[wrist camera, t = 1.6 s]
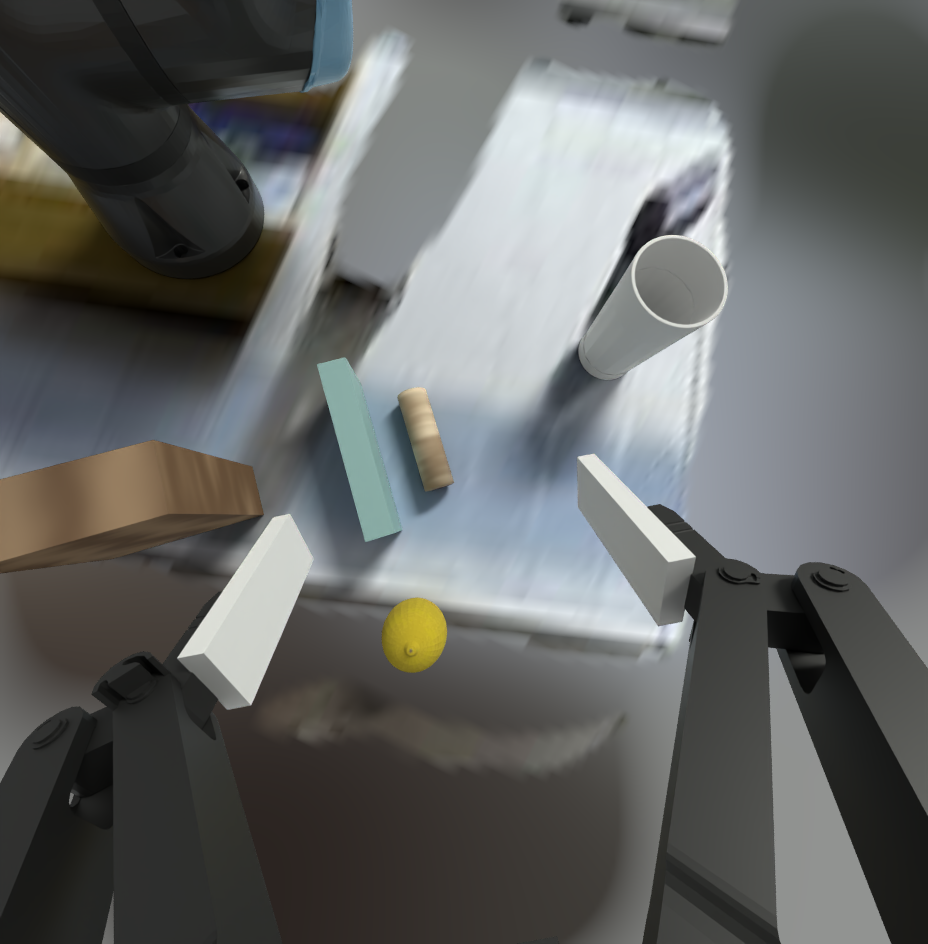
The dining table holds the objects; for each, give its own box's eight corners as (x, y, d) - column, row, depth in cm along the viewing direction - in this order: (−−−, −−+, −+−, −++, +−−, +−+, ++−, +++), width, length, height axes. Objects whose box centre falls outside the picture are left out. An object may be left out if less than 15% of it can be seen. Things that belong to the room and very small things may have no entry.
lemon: (395, 585, 34) (382, 606, 26) (450, 595, 34) (454, 618, 26) (383, 643, 33) (366, 684, 25) (439, 653, 33) (440, 696, 25)
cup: (623, 399, 38) (707, 345, 26) (560, 366, 38) (615, 297, 26) (649, 340, 39) (741, 264, 27) (588, 308, 39) (653, 218, 27)
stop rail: (378, 537, 34) (365, 542, 28) (337, 389, 36) (317, 364, 30) (402, 530, 34) (394, 532, 28) (360, 383, 36) (345, 357, 30)
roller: (439, 488, 36) (459, 481, 34) (419, 493, 34) (439, 485, 32) (413, 401, 37) (431, 388, 35) (391, 399, 35) (410, 386, 33)
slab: (112, 558, 32) (-80, 583, 20) (103, 507, 32) (-90, 502, 21) (264, 514, 34) (168, 513, 22) (252, 466, 34) (153, 439, 22)
